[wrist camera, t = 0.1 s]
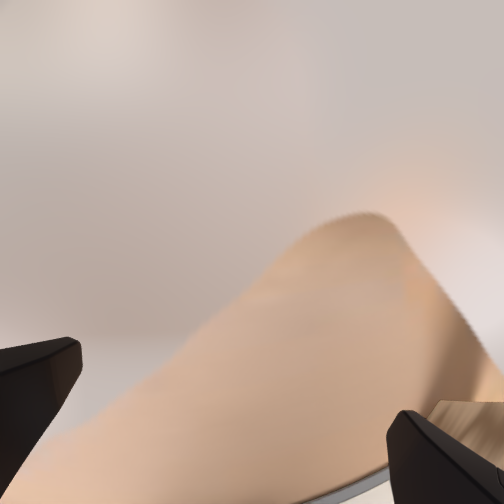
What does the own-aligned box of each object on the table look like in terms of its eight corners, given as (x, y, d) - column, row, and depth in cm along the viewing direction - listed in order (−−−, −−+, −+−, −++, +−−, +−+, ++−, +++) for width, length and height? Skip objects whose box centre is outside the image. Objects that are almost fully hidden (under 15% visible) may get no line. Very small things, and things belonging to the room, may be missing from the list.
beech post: (433, 469, 18) (534, 500, 6) (406, 444, 19) (517, 476, 7) (464, 426, 19) (568, 434, 7) (439, 399, 20) (554, 399, 8)
